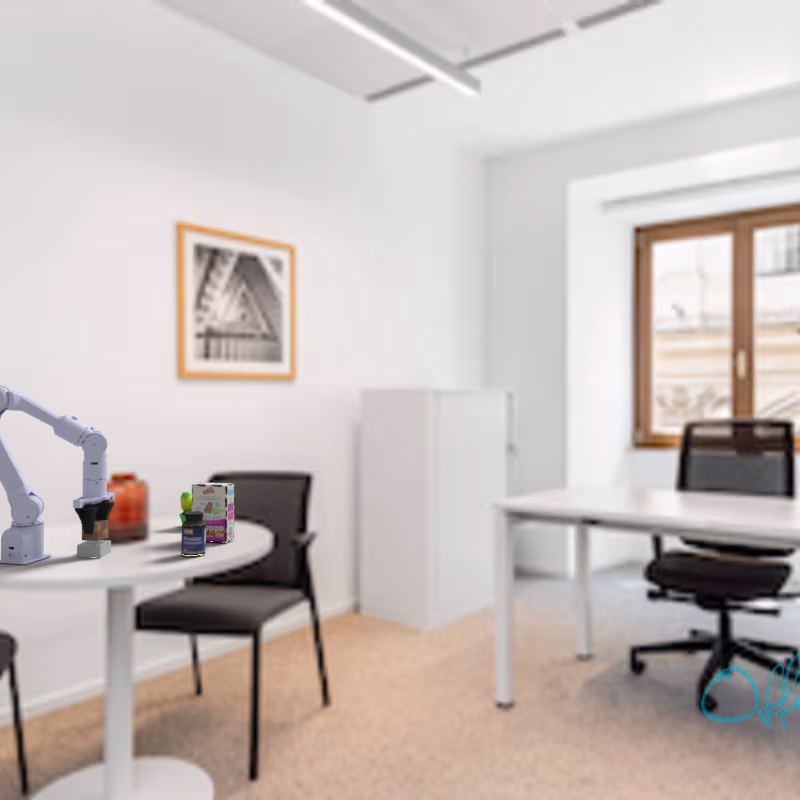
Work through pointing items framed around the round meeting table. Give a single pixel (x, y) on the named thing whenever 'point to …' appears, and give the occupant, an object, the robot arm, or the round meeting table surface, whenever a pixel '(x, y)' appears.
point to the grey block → (94, 548)
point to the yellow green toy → (185, 504)
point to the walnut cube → (97, 531)
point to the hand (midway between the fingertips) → (94, 531)
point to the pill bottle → (193, 534)
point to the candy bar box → (215, 509)
